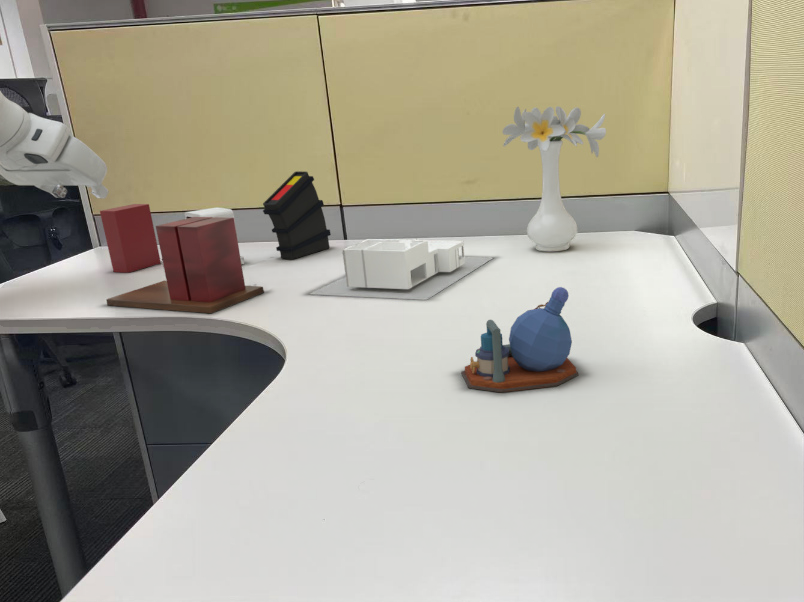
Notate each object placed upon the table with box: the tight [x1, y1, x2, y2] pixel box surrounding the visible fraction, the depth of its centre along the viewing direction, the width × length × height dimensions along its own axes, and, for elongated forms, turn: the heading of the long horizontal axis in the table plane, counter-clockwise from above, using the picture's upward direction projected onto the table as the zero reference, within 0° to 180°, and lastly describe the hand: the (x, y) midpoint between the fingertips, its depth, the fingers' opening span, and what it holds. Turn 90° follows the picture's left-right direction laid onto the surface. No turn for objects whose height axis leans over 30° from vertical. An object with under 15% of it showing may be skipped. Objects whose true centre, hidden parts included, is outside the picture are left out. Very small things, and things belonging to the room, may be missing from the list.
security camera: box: [184, 207, 246, 265], centre depth 145 cm, size 6×7×10 cm
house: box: [309, 238, 494, 301], centre depth 129 cm, size 22×18×6 cm
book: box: [99, 203, 162, 274], centre depth 147 cm, size 8×4×11 cm, turn 159°
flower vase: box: [501, 105, 607, 253], centre depth 144 cm, size 13×18×25 cm
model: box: [460, 286, 579, 393], centre depth 85 cm, size 12×9×9 cm
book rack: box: [106, 217, 265, 314], centre depth 122 cm, size 12×20×12 cm, turn 69°
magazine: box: [262, 170, 332, 260], centre depth 151 cm, size 4×13×15 cm, turn 153°
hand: (83, 194), depth 136 cm, fingers open, 8 cm apart
